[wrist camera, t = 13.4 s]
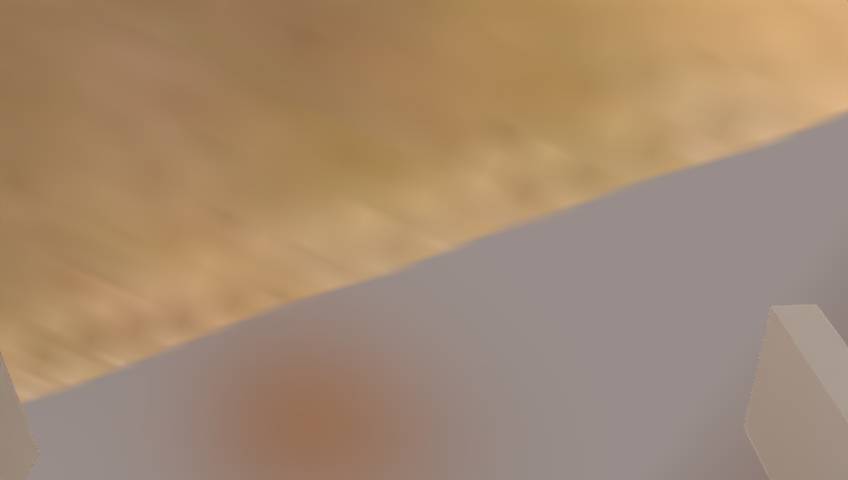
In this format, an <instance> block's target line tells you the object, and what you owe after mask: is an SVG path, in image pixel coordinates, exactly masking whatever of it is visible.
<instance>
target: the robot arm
mask: <svg viewBox="0 0 848 480" xmlns="http://www.w3.org/2000/svg"><path fill="white" fill-rule="evenodd" d="M743 427H744V430H745V432H746V434H747V436H748V438H749V440H750V442H751V444H752V446H753V448H754V449H755V452H756V454H757V455H758V458H759V460H760V462H761V464H762V465H763V468H764V470H765V472H766V474H767V476H768V478H769V480H848V346H847V345H846V344H845V342H844V341H843V340H842V338H841V337H840V336H839V334H838V333H837V331H836V330H835V329H834V327H833V326H832V325H831V323H830V322H829V321H828V319H827V318H826V317H825V315H824V314H823V313H822V311H821V310H820V309H819V307H818V306H817V305H816V304H808V305H781V306H770V310H769V315H768V319H767V324H766V328H765V333H764V337H763V342H762V346H761V351H760V355H759V359H758V364H757V368H756V373H755V377H754V382H753V386H752V390H751V395H750V399H749V404H748V408H747V413H746V417H745V421H744V426H743ZM39 454H40V453H39V450H38V447H37V445H36V442H35V440H34V437H33V435H32V432H31V429H30V428H29V424H28V422H27V420H26V417H25V414H24V412H23V409H22V407H21V404H20V401H19V399H18V396H17V394H16V391H15V389H14V386H13V384H12V381H11V379H10V376H9V373H8V371H7V368H6V366H5V363H4V361H3V358H2V356H1V353H0V480H26V478H27V476H28V474H29V472H30V470H31V468H32V467H33V465H34V463H35V461H36V459H37V457H38V456H39Z"/></svg>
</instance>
